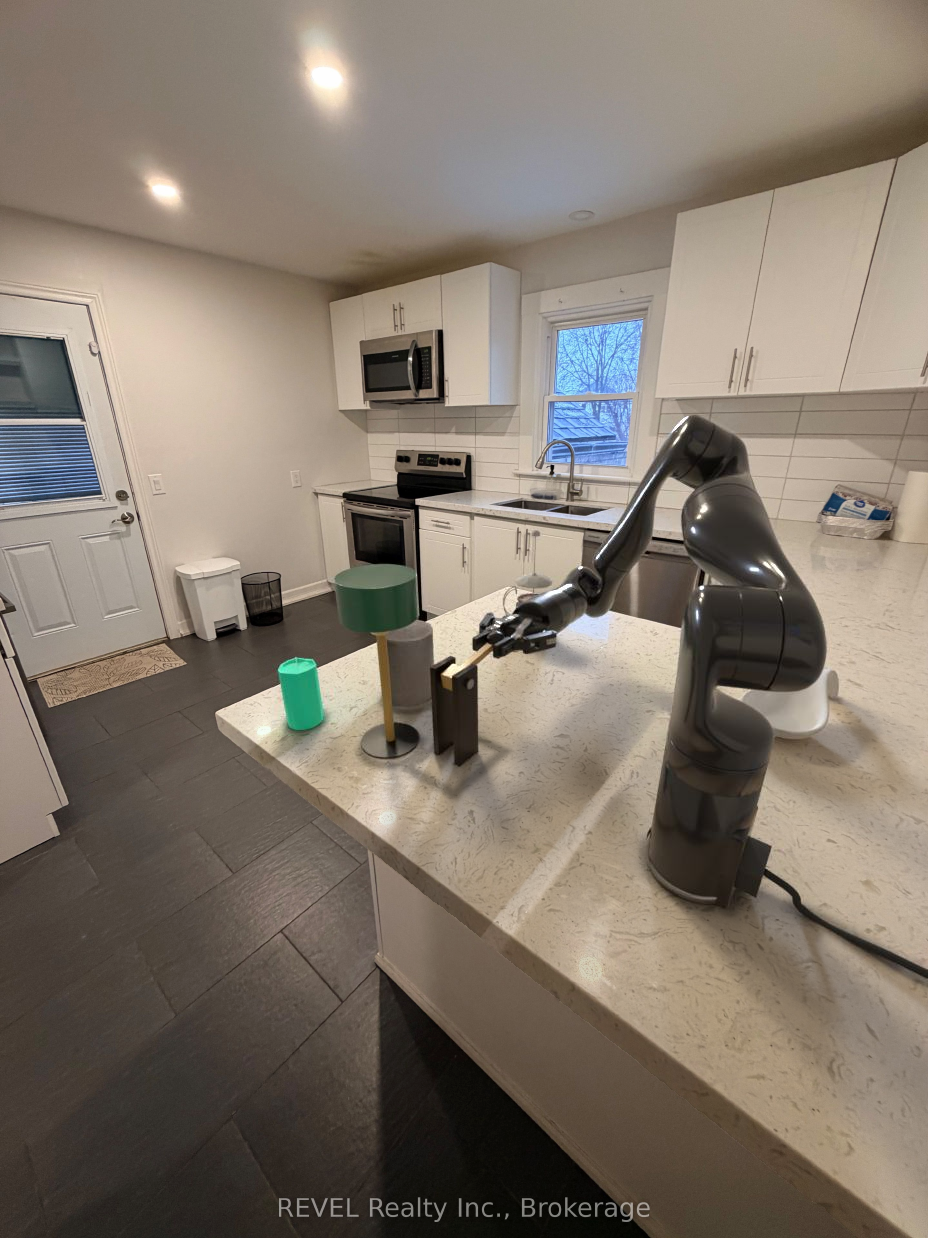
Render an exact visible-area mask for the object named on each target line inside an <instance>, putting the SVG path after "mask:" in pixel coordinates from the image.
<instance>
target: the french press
mask: <svg viewBox="0 0 928 1238" xmlns="http://www.w3.org/2000/svg"><path fill="white" fill-rule="evenodd" d="M540 536H541V532H540V530H537V529H534V530H532V532H531V537H534V555H533V556H534V557H533V573H532V572H531V573H527V574H522V575H520V576H518V577H517V578H516V579H515V584H516V585H517V586H519V587H521V588H526V589H532V592H529V593H527V592H526V593H523V594H520V595H518V596H517V597H516V600H517V602H515V608H516V607H517V606H518V605H519V604H521V603H522V602H524V601H526V600H528V599H530V598H533V597H535V596H537V595H539V594H540V593H537V592H535V590H536V589H545V588H549V587H551V586H552V585H553V580H552V579H551V578H550V577H549V576H546V575H544V574H541V573H536V548H537V546H536V545H537V537H540ZM517 586H515V585H513V586H512V587H509V588H507V590H506V591H505V593H504V594H503V597H502V607H503V611H504V613H505V615H510V614H511V613H509V612H508V611H507V609H506V606H505V601H506V599H507V597H508V595H509V594H510V593H511V592H513V591H514V592H515V595H517V594H518V589H517ZM534 645H535V644H531V647H532V646H534Z"/></svg>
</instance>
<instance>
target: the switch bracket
mask: <svg viewBox="0 0 928 1238" xmlns="http://www.w3.org/2000/svg"><path fill="white" fill-rule="evenodd" d="M456 658H457V657H456V656H453V655H449V656H446V657H445V658H444V659H441V660H440V661H438V662H436V663H434V665H433V666H431V667H430V681H431V699H430V700H431V701H430V702H431V716H432V718H431V719H432V737H433V738H432V740H433V754H434V755H436V756H438V757H440V756H441V755H442V754H444V753H445V752H447V751H448V750H449V749H451V748H452V747H453V757H454V759H453V760H454V761H453V763H454V765H455V766H457V767H459V768H461V767H462V766H463V765H464V764H465V763H467V762H468V761H469V760H470V759H472V758H473V757H474V756H475V755H477V754H478V753H479V676H478V675H479V673H478V671H479V667H478V664H477V665H475V664H471V665H469V666H467V667H466V668H464V669H462V670H461V671H459V672H457V673H456V674H454V675H452V691H451V690H448V689H446V688H444V687H443V684H442V679H441V673H442V672H444V671H445V670H446V669H447V668H448V667H450V666H451V665H452V664H456V665H457V662H456V661H457V660H456Z"/></svg>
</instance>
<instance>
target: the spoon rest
mask: <svg viewBox="0 0 928 1238" xmlns="http://www.w3.org/2000/svg"><path fill="white" fill-rule="evenodd" d="M839 691H840V680H839V676H838V673H837V671H836V670H834V669H830V668H825V667H824V669H823V671H822V674H821V675H820V677H819V679H818V680H817V681H816V682H815V683H814V684H813V685H811V686H810V687H809V688H807V689H804V690H801V691H797V692H769V691H762V690H761V691H759V690H750V689H748V691H746V692H744V694H743V695H742V696H741V698H740V701H742V702H744V703H746V704H748V705H749V706H751V707H753V708H754V709H756V710H757V711H759V712H760V713H761V714H762V715H763V716H764V717H765V718H766V719H767V720H768V721H769V722H770V724H771V726H772V727H773V730H774V736H775V737H778V738H782V739H786V740H802V739H807V738H810V737H813V736H815V735H817V734H818V733H820V732H822V730H823V729H825V727H826V726H827V724H828V722H829V719H830V704H829V697H832V698H836V697H838V696H839Z"/></svg>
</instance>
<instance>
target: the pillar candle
mask: <svg viewBox="0 0 928 1238" xmlns="http://www.w3.org/2000/svg"><path fill="white" fill-rule="evenodd" d="M386 640H387V651H388V663H389V675H390V686H391V698H392V706H397V707H413V706H414V707H415V706H419V705H422V704H424V703H427V702H428V701H430V700H431V681H430V667H431V666H433V665H434V664H435V654H434V652H435V651H434V628H433V626H432V624H431V623H430V622H427V621H424V620H419V619H417V620H416V621H415V622H413V623H412V624H410V625H408V626H406V627H403V628H400V629H397V630H392V631H391V632H389V633H388V634H386Z"/></svg>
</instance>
